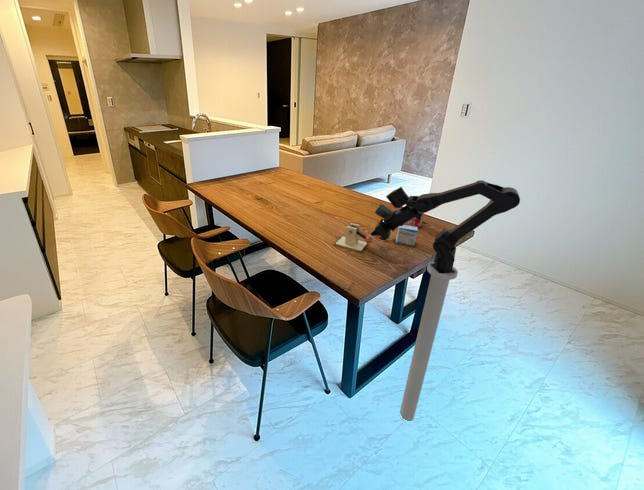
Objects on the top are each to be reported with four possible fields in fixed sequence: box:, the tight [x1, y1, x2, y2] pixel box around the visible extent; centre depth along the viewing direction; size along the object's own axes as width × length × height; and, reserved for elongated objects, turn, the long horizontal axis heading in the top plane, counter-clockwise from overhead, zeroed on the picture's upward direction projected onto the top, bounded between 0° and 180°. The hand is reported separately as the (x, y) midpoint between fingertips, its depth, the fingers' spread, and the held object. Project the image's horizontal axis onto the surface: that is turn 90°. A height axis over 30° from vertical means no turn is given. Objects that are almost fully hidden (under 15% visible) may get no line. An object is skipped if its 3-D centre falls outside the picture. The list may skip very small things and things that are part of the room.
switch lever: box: [351, 225, 373, 244], centre depth 131 cm, size 11×3×3 cm, turn 57°
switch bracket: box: [335, 222, 368, 252], centre depth 134 cm, size 12×9×10 cm
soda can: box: [406, 213, 425, 228], centre depth 152 cm, size 7×7×12 cm
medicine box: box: [395, 224, 419, 247], centre depth 135 cm, size 8×4×9 cm, turn 68°
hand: (371, 234), depth 129 cm, fingers closed
